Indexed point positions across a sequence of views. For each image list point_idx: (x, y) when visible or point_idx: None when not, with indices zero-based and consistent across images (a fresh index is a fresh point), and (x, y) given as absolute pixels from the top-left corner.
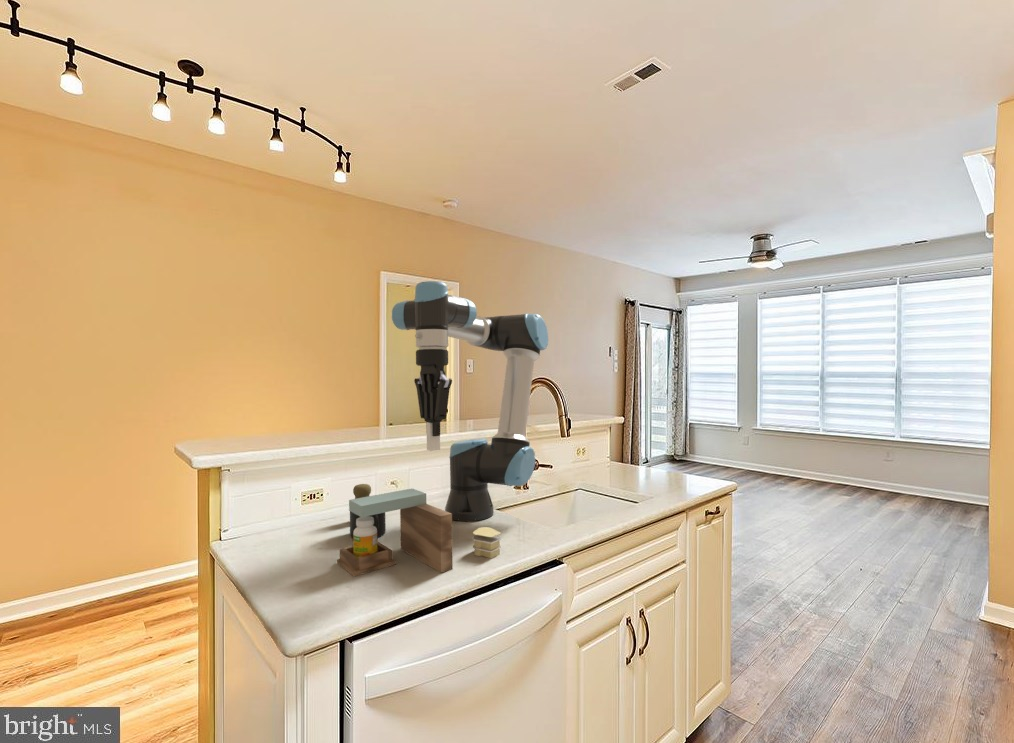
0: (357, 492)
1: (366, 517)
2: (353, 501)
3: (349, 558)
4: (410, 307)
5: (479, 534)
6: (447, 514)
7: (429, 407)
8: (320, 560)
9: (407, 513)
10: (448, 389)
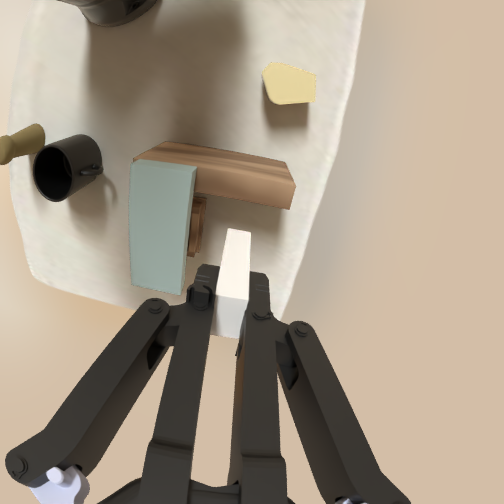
0: (8, 161)
1: None
2: (145, 286)
3: None
4: None
5: (288, 101)
6: (292, 194)
7: (202, 382)
8: (127, 247)
9: None
10: (374, 470)
